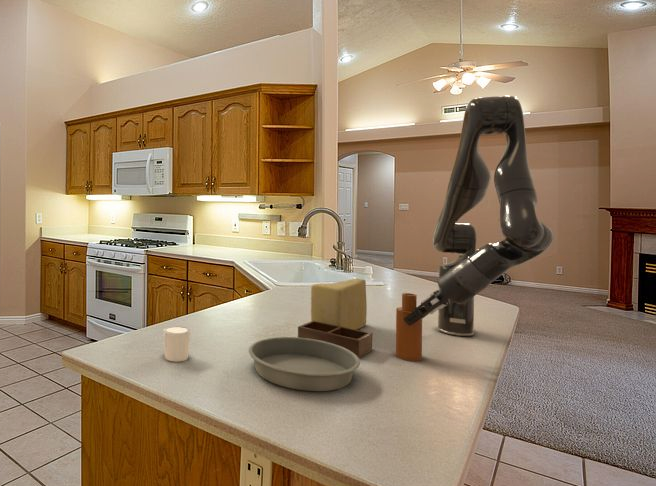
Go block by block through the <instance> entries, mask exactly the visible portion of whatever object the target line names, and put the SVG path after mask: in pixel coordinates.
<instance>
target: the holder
mask: <svg viewBox="0 0 656 486" xmlns="http://www.w3.org/2000/svg"><path fill="white" fill-rule="evenodd" d="M297 337H298V338H308V339H315V340H320V341H325V342H329V343H332V344H336V345H338V346H341V347H344V348H346V349H348V350H350V351H351V352H353V353H354V354H355V355H356V356H357V357H358V358H359V359H361V358H362V357H364V356H366V355H367V354H369V353H370V352H372V351H373V332H369V331H364V330H359V329H357V330H355V329H350V328H346V327H341V326H336V325H331V324H327V323H322V322H317V321H309V322H306V323H303V324H301V325H299V326H297Z"/></svg>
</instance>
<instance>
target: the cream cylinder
mask: <svg viewBox="0 0 656 486" xmlns="http://www.w3.org/2000/svg"><path fill="white" fill-rule="evenodd" d="M162 335H163V346H164V357H165V360H167V361H170V362H175V363H176V362H184V361H187V360H188V358H189V350H190V339H191V329H190V328H188V327H186V326H180V325H179V326H178V325H177V326H175V325H174V326H167V327H164V328H163V330H162Z"/></svg>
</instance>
